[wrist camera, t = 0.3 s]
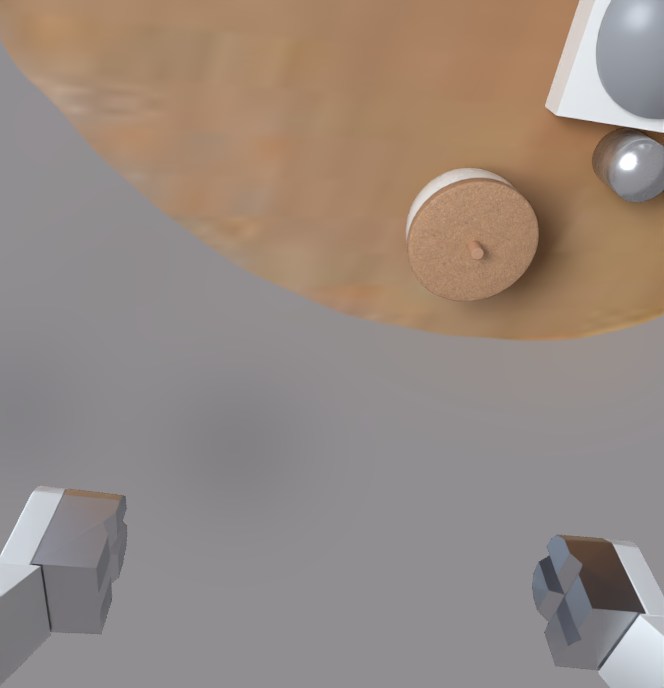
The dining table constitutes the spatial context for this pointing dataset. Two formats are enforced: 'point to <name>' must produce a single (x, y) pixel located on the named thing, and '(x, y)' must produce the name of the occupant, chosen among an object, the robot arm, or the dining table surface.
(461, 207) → the lidded jar
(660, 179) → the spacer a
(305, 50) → the dining table surface
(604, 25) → the kitchen scale
